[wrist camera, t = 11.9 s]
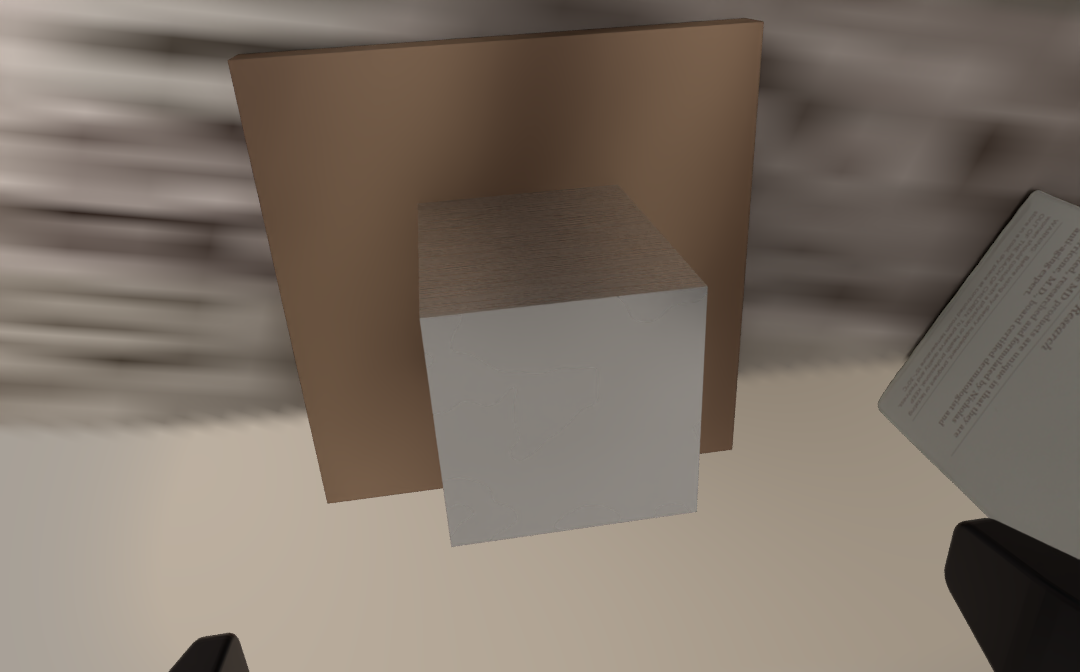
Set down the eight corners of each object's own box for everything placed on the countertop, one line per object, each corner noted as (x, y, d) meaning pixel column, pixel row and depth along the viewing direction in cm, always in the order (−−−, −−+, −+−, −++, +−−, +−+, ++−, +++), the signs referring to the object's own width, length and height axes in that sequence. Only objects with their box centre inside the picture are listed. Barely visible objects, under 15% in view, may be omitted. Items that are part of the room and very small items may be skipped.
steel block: (617, 184, 17) (707, 286, 12) (619, 358, 19) (696, 511, 14) (417, 203, 17) (419, 318, 12) (441, 380, 19) (451, 546, 14)
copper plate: (745, 18, 17) (763, 21, 16) (719, 429, 22) (732, 449, 21) (238, 54, 16) (227, 60, 15) (331, 480, 21) (327, 503, 20)
